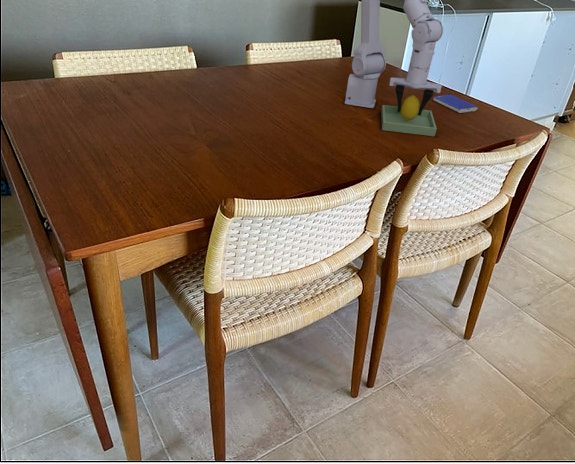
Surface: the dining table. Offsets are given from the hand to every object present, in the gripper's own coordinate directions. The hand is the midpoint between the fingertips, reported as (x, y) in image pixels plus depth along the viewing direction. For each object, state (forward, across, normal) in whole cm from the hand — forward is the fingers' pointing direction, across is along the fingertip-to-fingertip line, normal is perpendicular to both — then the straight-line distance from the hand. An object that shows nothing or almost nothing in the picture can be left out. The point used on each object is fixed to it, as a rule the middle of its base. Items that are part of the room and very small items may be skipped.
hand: (408, 112), depth 140 cm
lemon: (+3, 0, 0) cm, 3 cm away
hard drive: (+4, +15, +24) cm, 29 cm away
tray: (+3, 0, 0) cm, 4 cm away
